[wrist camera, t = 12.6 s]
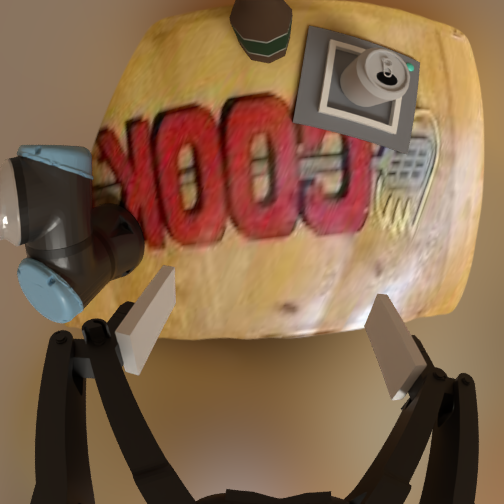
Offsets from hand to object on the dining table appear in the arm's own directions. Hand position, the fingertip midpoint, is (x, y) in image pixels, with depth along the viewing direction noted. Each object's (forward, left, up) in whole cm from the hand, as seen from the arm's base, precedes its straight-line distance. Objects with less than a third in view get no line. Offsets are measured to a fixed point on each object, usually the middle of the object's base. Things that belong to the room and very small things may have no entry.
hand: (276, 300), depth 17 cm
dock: (+10, +22, -30) cm, 39 cm away
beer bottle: (-6, +26, -30) cm, 40 cm away
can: (+10, +22, -29) cm, 38 cm away
